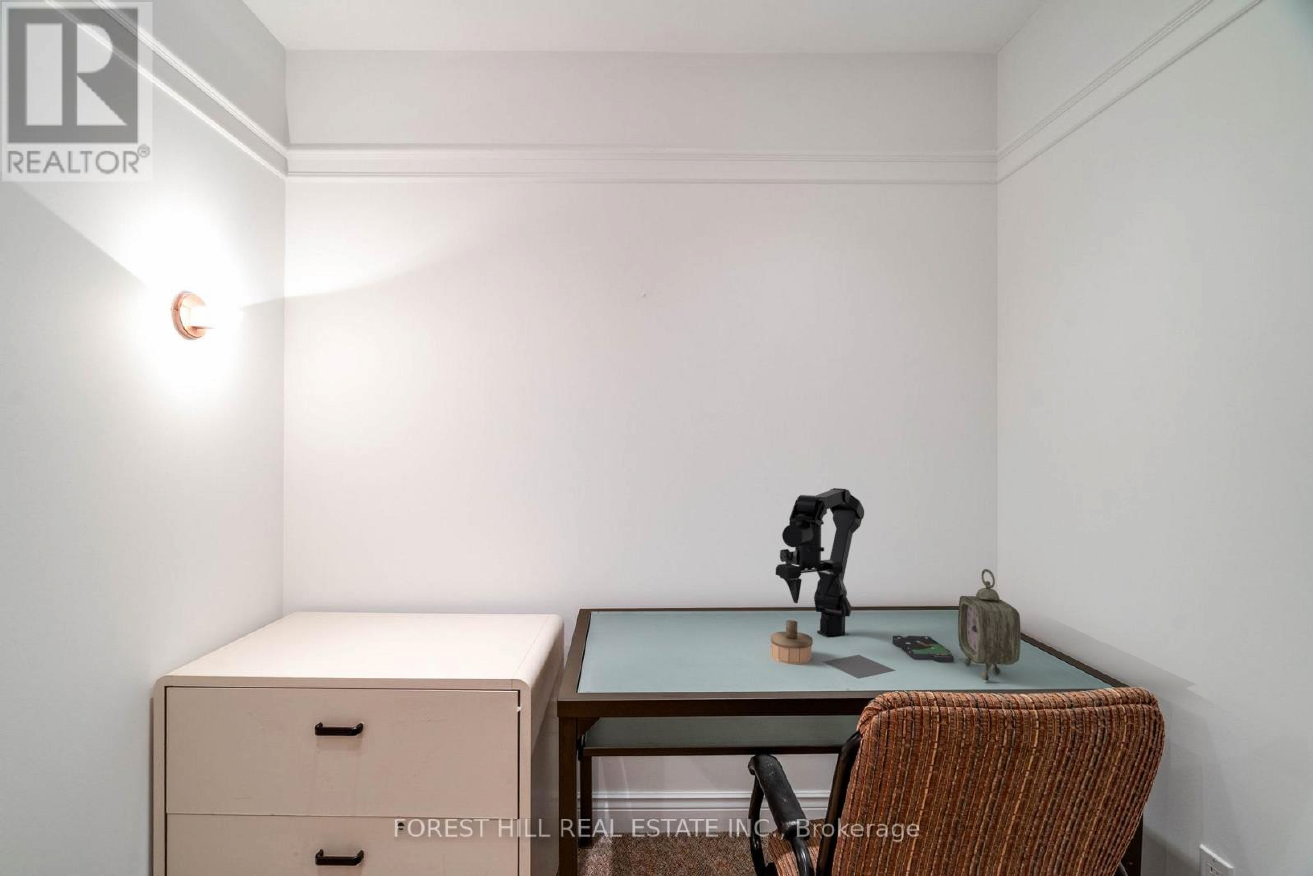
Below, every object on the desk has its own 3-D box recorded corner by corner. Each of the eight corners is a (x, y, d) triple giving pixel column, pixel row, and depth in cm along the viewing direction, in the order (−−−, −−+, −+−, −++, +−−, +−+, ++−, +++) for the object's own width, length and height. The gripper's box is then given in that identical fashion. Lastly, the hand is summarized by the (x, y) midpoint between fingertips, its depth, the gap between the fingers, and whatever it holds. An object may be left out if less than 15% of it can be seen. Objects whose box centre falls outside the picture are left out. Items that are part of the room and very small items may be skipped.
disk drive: (891, 645, 176) (914, 664, 161) (891, 635, 176) (914, 652, 161) (928, 645, 176) (954, 664, 161) (928, 635, 176) (955, 653, 161)
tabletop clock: (957, 662, 161) (958, 563, 161) (995, 664, 160) (996, 564, 160) (980, 684, 147) (982, 575, 147) (1022, 686, 146) (1023, 577, 146)
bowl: (793, 650, 168) (793, 633, 168) (819, 662, 160) (819, 644, 160) (763, 656, 164) (763, 638, 164) (787, 668, 155) (788, 650, 155)
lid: (794, 633, 169) (794, 614, 169) (821, 644, 159) (821, 624, 159) (762, 638, 164) (762, 619, 164) (788, 650, 155) (788, 630, 155)
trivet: (858, 657, 164) (858, 654, 164) (895, 672, 153) (895, 670, 153) (822, 664, 159) (822, 661, 159) (858, 680, 148) (858, 678, 148)
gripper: (816, 536, 182) (815, 591, 182) (763, 540, 173) (762, 597, 174) (844, 542, 172) (843, 600, 172) (789, 546, 164) (788, 607, 164)
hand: (809, 601), depth 171 cm, fingers open, 9 cm apart
